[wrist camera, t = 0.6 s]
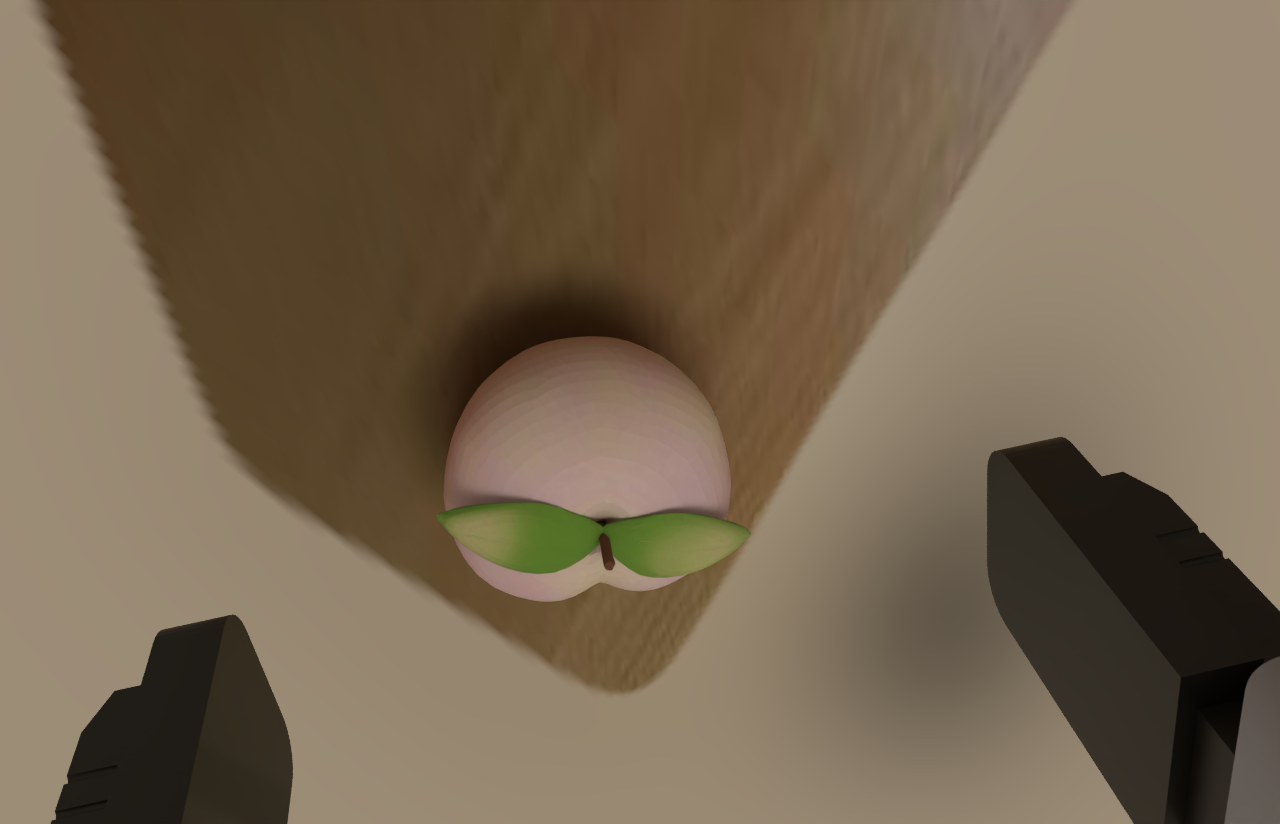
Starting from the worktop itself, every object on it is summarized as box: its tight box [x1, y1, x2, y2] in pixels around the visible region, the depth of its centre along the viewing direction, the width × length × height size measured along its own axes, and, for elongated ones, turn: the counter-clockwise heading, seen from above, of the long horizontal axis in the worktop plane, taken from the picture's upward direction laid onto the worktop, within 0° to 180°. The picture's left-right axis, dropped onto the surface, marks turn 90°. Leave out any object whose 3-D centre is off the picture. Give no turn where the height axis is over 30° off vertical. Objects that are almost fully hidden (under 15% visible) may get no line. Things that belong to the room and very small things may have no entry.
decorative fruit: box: [436, 336, 750, 602], centre depth 38 cm, size 9×8×10 cm
